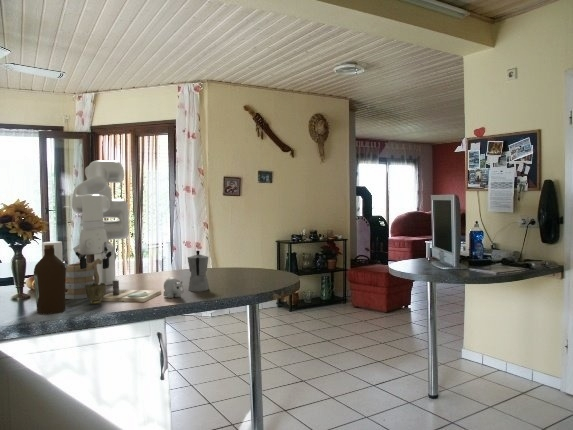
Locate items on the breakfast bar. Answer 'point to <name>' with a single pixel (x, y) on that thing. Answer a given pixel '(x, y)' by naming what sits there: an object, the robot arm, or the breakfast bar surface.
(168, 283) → the chubby cartoon animal
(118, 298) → the board
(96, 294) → the cup
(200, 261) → the coffeepot
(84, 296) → the tankard
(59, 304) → the olive oil
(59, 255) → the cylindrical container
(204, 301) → the breakfast bar surface
